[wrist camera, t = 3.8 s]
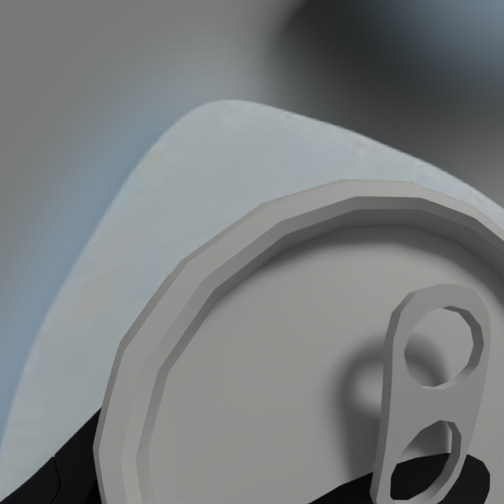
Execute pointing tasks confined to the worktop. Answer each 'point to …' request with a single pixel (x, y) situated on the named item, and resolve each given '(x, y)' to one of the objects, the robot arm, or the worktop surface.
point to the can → (318, 359)
